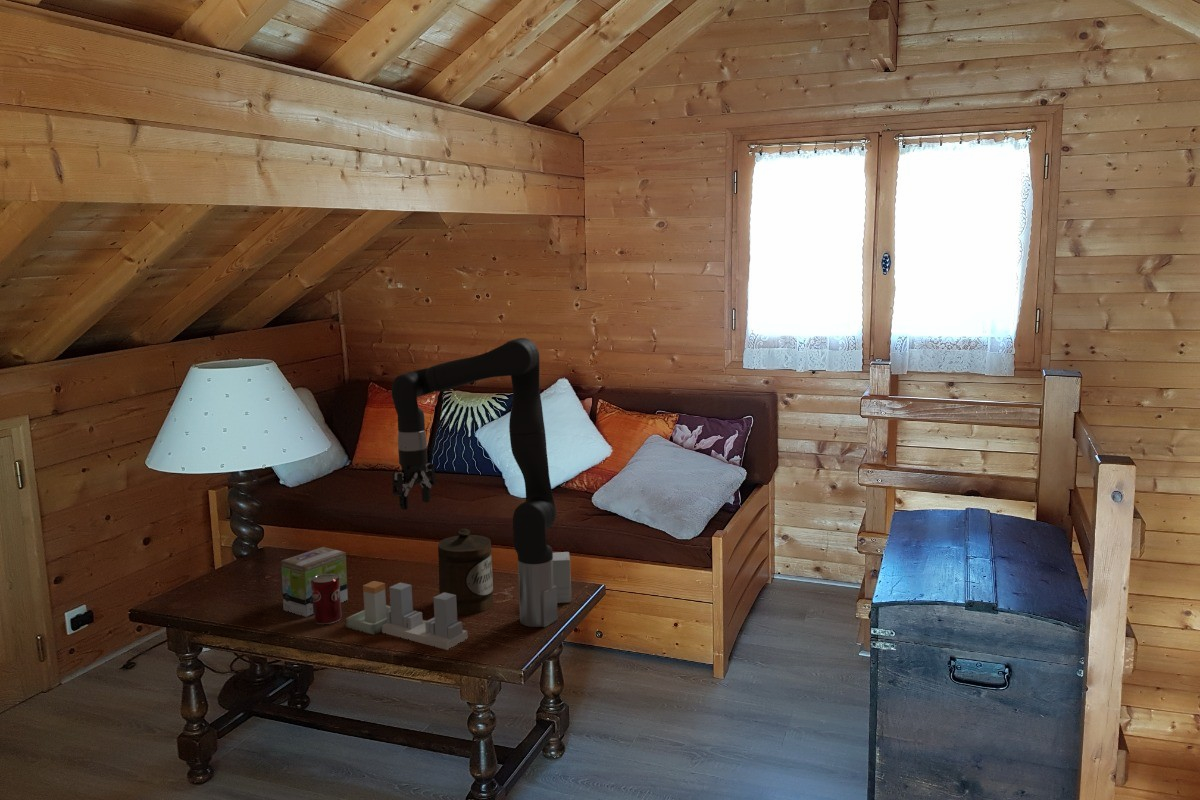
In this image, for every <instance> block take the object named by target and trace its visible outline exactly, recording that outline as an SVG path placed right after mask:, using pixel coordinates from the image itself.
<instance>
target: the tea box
mask: <svg viewBox="0 0 1200 800" xmlns="http://www.w3.org/2000/svg"><path fill="white" fill-rule="evenodd" d="M346 555H347V552H345V551H342V550H339V549H333V548H330V547H329V548H328V547H325V546H322V547H319V548H315V549H312V550H309V551H306V552H303V553H301V554H297V555H295V556H291V557H288V558H284V559H282V560H281V561H280V562H281V563H280V565H281V566H280V567H281V582H282V583H281V584H282V603H283V607H282V608H283V611H285V612H288V611H289V613H291V612H292V614H294V613H295V615H298V616H301V615H302V617H305V618H307V617H309V616H311V615H313V603H312V588H311V580H312V579H313V578H314V577H315V576H317V575H321V574H335V575H337V576H338V577H339V582H340V598H341V604H342V603H344V601H345V602H347V601H348V600H349V596H348V594H349V592H348V575H347V573H348V572H347V556H346ZM346 600H347V601H346Z"/></svg>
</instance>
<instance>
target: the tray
mask: <svg viewBox="0 0 1200 800" xmlns="http://www.w3.org/2000/svg"><path fill="white" fill-rule="evenodd" d="M390 610H391V607H390V605H387V604H386V611H387V612H388V611H390ZM386 623H387V617H386V618H384V619H382V620H380V621H378V622H376V623H370V622H366V621H365V610H364V609H362V610H361V611H359V612H357V613H354V614H352V615H350V616H348V617H346V618H345V627H346V628H347V627H348V628H349V629H351V628H352V630H355V631H358V630H359V632H362V631H363V633H366V634H369V635H376V634H379V633H380V632H382V625H384V624H386Z"/></svg>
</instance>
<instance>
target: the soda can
mask: <svg viewBox="0 0 1200 800" xmlns="http://www.w3.org/2000/svg"><path fill="white" fill-rule="evenodd" d="M311 588H312V603H313V614H312V616H313V621H314V622H315V624H317V625H320V624H329V625H333V624H335V622H336V623H338V622H339V621H340V620H341V619H342V617H343V616H342V603H341V598H340V582H339V577H338V576H337V575H335V574H321V575H317V576H315V577H314V578H313V579H312V580H311ZM337 621H338V622H337ZM332 623H333V624H332Z"/></svg>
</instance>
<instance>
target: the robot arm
mask: <svg viewBox="0 0 1200 800" xmlns="http://www.w3.org/2000/svg"><path fill="white" fill-rule="evenodd" d="M509 376H510V378H511V385H512V400H511V401H512V402H511V407H510V408H511V409H510V414H509V423H508V424H509V426H508V428H509V430H508V431H509V441H510V442H509V443H510V448H511V452H512V456H513V458H514V460H515V462H516V464H517V466H518V468H519V470H520V473H521V474H522V477H523V481H524V488H525V501H523V502H522V503H520V504H519V505H518V506H516V508H515V509H514V512H513V515H512V531H513V532H512V533H513V544H514V549H515V551H516V553H517V570H518V571H517V572H518V576H517V577H518V597H519V598H518V603H519V605H518V607H519V623H520V624H522V625H523V626H526V627H529V628H530V627H532V628H539V627H541V628H547V627H548V626H549V625H551V624H553V623H555V622H556V621H558V619H559V617H558V616H559V615H558V603H557V586H555V585H553V553H554V552H553V548H552V546H551V545H549V544H547V537H546V531H547V530H548V529H549V528H551V527H552V526H553V524H554V523H555V521H556V516H557V512H556V503H555V499H554V494H553V489H552V484H551V479H550V471H549V461H548V451H547V438H546V428H545V421H544V414H543V404H542V403H543V402H542V398H541V387H540V386H541V385H540V352H539V349H538V347H537V345H536V344H535V343H534V341H532V340H531V339H528V338H525V337H519V338H515V339H510V340H508V341H507V342H505V343H503V344H502V345H500V346H497V347H495V348H494V349H491V350H489V351H487V352H485V353H481V354H479V355H478V354H477V355H474V356H471V357H466V358H465V357H464V358H459V359H455V360H450V361H446V362H442V363H439V364H435V365H432V366H430V367H427V368H423V369H421V368H420V369H416V370H413V371H408V372H406V373H402V374H399V375H397V376H396V377H394V379H393V380H392V385H391V398H392V401H393V405H394V409H395V411H396V415H397V431H398V433H397V447H398V450H397V452H398V453H397V454H398V464H399V465H400V467H401V471H400V472H393V473H392V477H391V478H392V495H395V496H398V499H399V500H398V501H399V508H400V509H401V510H403V511H406V510H409V496H408V495H409V492H410V490H411V489H412V488H413V486H415V485H417V484H420V486H421V499H422V500H421V501H422V502H423V503H430V502H431V488H432V486H434V485H436V482H437V481H436V471H435V464H434V463H431V462H428V445H427V441H428V440H427V435H426V427H425V426H426V425H425V424H426V423H425V413H424V410H423V409H422V408H421V407H419V403H418V398H419V397H422V396H425V395H428V394H432V393H438V392H445V391H448V390H451V389H456V388H459V387H462V386H465V385H468V384H471V383H474V382H477V381H481V380H485V379H491V378H497V377H509Z"/></svg>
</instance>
